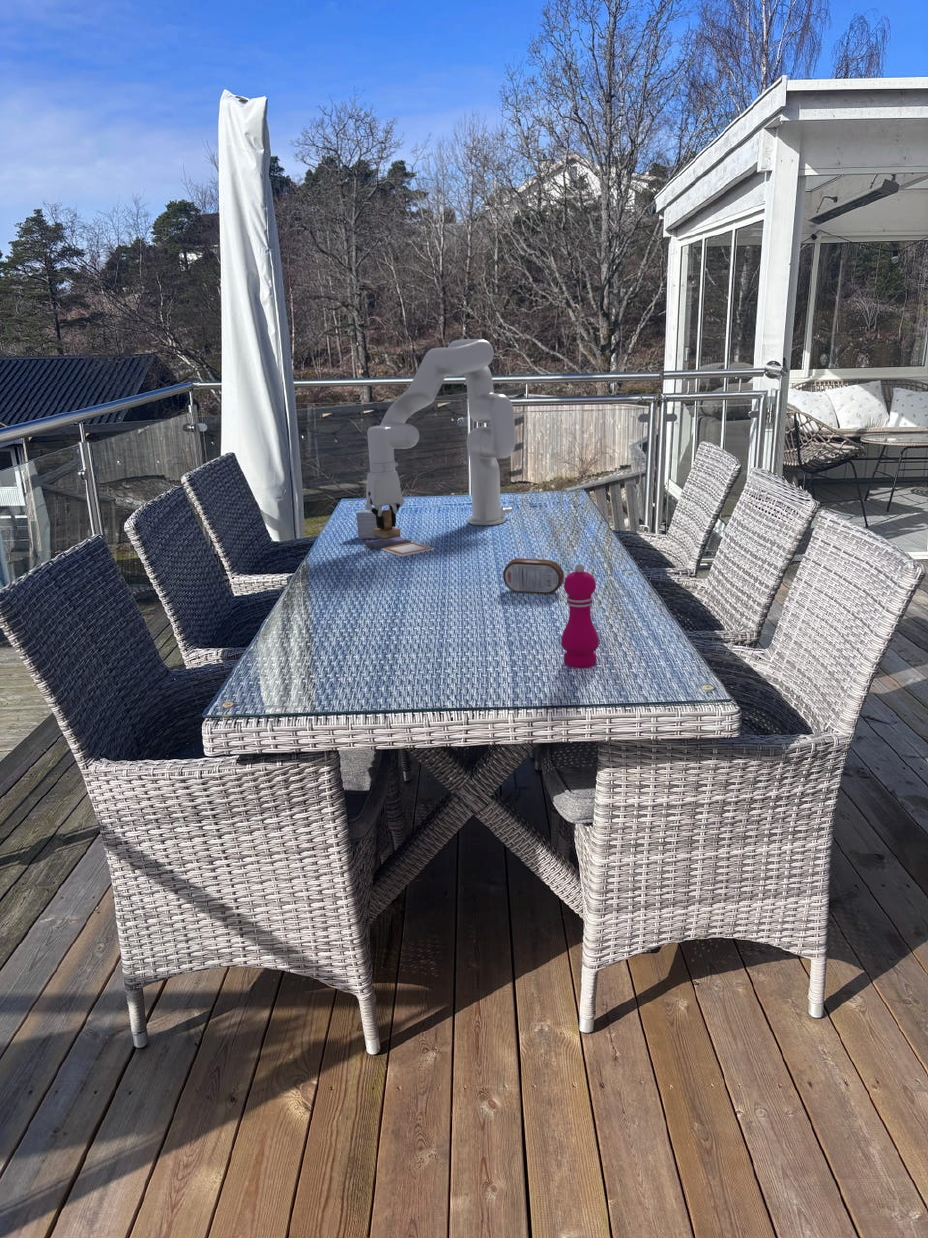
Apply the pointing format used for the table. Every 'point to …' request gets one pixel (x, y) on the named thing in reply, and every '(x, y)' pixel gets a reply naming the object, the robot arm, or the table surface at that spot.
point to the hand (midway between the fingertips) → (386, 526)
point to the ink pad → (386, 542)
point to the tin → (533, 576)
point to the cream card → (407, 549)
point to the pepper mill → (580, 620)
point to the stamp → (387, 527)
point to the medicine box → (366, 524)
